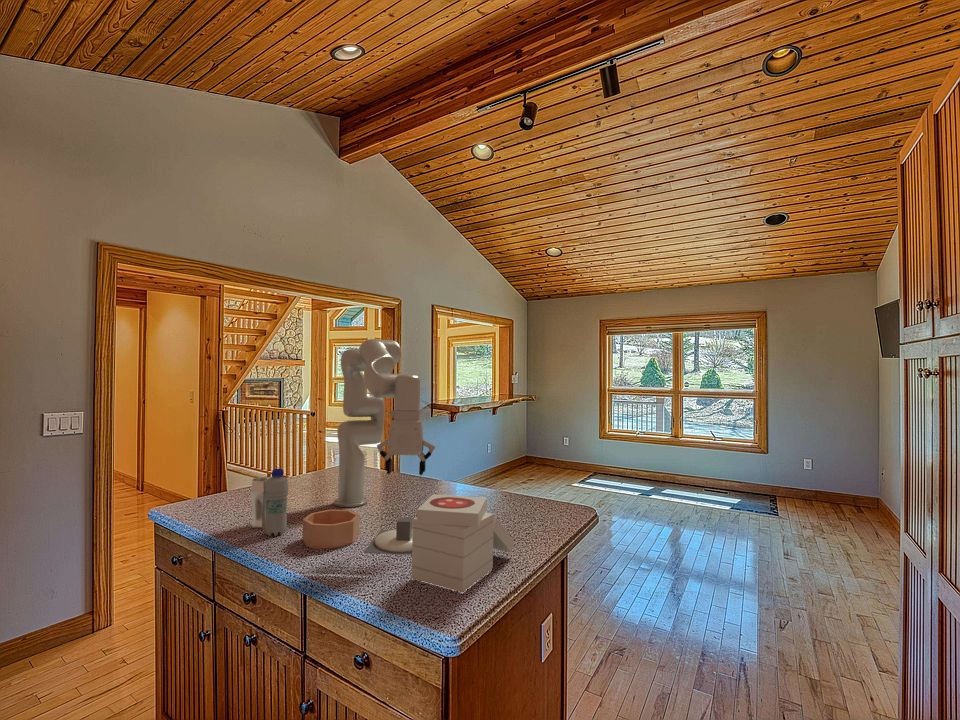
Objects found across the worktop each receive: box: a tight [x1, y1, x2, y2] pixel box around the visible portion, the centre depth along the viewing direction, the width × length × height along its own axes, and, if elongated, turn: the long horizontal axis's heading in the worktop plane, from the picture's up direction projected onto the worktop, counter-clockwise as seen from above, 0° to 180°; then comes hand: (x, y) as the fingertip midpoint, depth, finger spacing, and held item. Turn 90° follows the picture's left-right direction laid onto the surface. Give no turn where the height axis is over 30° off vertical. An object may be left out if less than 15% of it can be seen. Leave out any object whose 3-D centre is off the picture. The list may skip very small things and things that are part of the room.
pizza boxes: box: [410, 493, 515, 592], centre depth 124 cm, size 19×30×18 cm, turn 151°
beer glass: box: [250, 476, 272, 529], centre depth 153 cm, size 7×7×15 cm
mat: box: [363, 529, 412, 556], centre depth 140 cm, size 19×19×1 cm
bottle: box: [263, 468, 289, 537], centre depth 146 cm, size 7×7×20 cm
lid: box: [374, 516, 414, 553], centre depth 140 cm, size 17×17×6 cm
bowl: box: [301, 509, 361, 550], centre depth 141 cm, size 15×15×7 cm
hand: (405, 473), depth 140 cm, fingers open, 9 cm apart
